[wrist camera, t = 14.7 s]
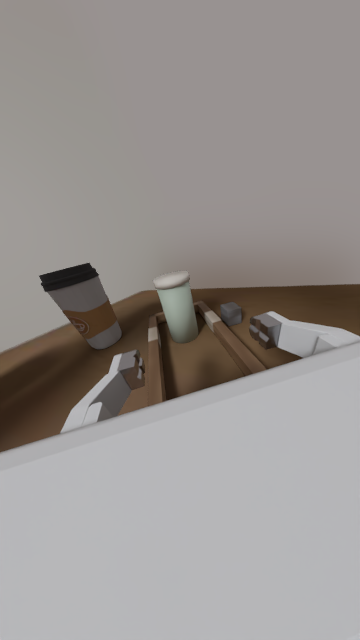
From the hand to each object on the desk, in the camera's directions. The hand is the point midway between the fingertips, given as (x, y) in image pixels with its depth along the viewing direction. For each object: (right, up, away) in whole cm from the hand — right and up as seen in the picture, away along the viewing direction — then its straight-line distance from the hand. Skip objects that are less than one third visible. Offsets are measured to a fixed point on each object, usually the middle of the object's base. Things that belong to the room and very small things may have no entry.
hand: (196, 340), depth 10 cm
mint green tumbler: (0, -1, +16) cm, 16 cm away
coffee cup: (-17, -3, +21) cm, 27 cm away
